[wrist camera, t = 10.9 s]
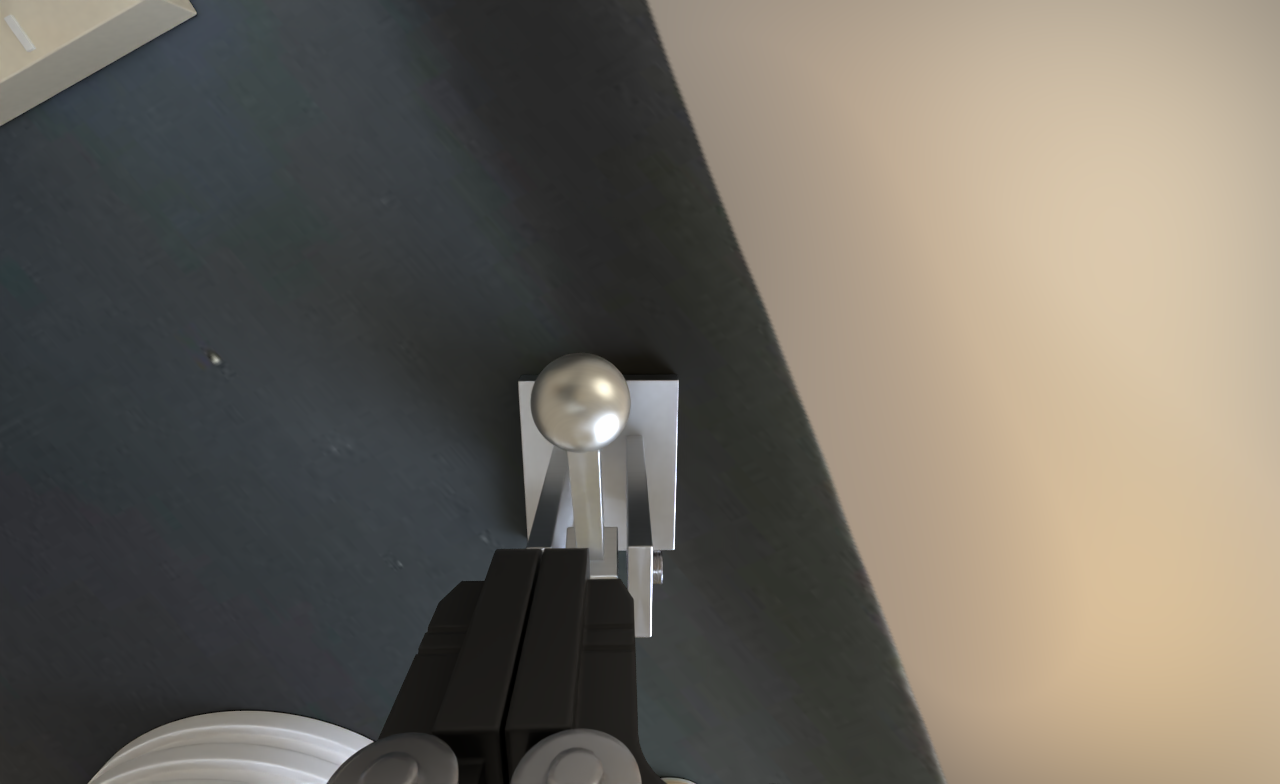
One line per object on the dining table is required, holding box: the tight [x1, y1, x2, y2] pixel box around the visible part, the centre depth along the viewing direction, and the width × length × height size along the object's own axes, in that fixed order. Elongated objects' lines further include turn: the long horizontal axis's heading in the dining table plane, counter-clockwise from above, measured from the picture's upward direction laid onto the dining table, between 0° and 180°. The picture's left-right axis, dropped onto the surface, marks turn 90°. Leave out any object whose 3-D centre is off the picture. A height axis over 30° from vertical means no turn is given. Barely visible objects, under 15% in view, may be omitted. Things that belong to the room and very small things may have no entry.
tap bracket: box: [518, 374, 679, 637], centre depth 31 cm, size 11×9×13 cm
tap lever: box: [530, 353, 631, 579], centre depth 23 cm, size 13×3×3 cm, turn 0°
